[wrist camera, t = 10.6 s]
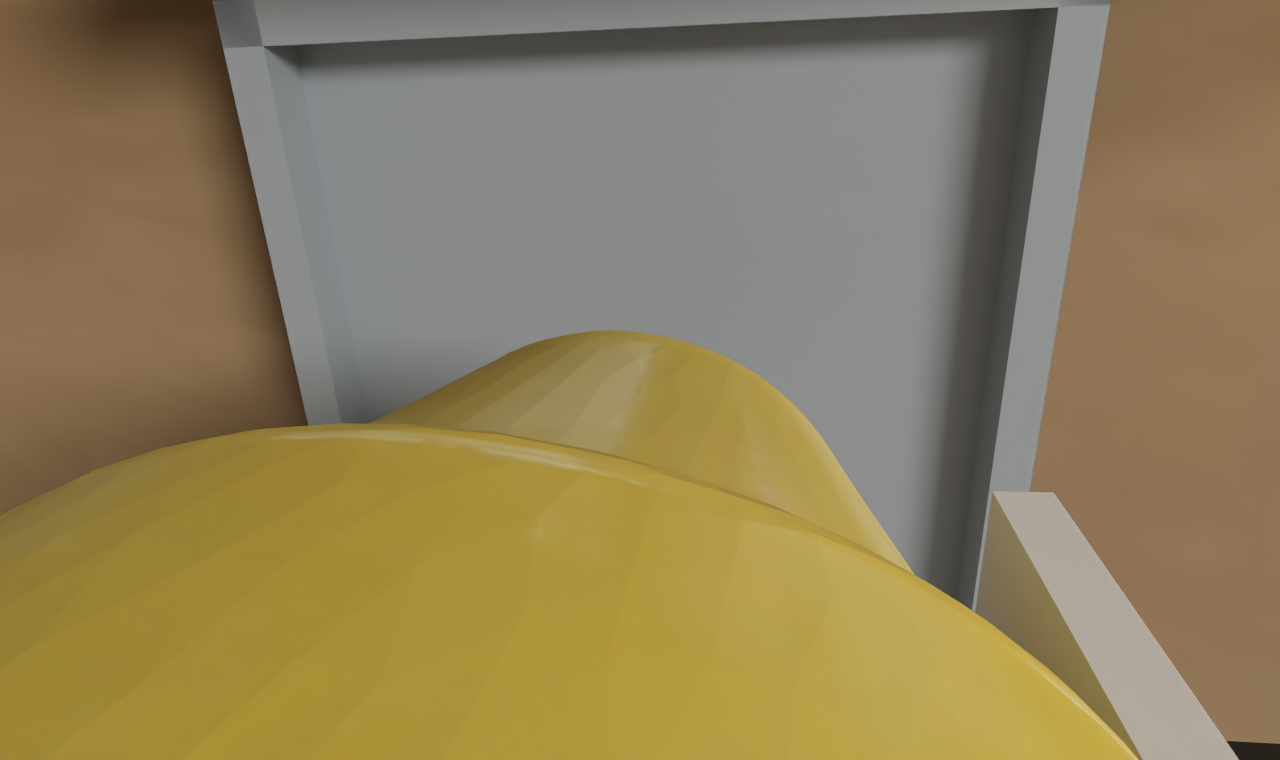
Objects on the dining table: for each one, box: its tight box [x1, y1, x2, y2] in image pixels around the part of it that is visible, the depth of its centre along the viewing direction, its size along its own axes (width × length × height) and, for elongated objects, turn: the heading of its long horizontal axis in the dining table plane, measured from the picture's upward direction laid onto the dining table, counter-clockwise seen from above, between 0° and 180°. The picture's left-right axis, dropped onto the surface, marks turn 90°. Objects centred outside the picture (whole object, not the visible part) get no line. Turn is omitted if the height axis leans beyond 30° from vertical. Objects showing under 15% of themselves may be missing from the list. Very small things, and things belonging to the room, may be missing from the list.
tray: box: [212, 0, 1111, 612], centre depth 18 cm, size 16×16×2 cm
